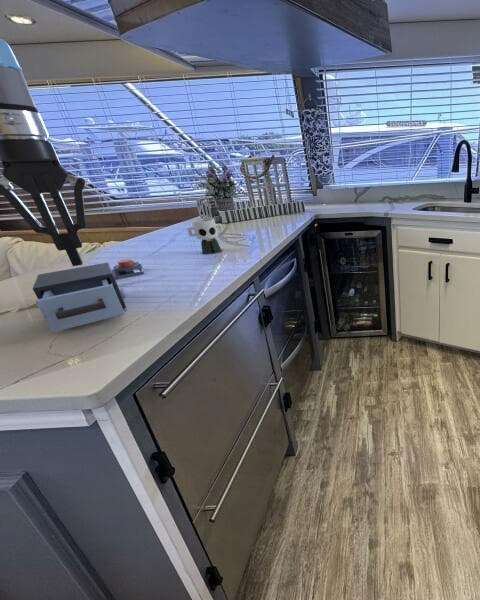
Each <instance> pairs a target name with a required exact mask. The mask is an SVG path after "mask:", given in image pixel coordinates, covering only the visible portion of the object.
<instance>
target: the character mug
mask: <svg viewBox="0 0 480 600" xmlns="http://www.w3.org/2000/svg"><path fill="white" fill-rule="evenodd" d="M191 224H192V226H189V227H187V232H188V235H189V237H190V238H191V237H195V238H196V239H197V240H201V242H200V246H201V252H202V254H203V255H213V254H217V253H220V252H222V249H221V246H220V244H219V242H218V240H217V239H216V238H218V237H219V234H220V233H223V232H224V228H223V225H222V223H221V222H220V223H216V221H215V219H214V218H201V219H195V220H192V222H191ZM217 227H219V229H218V228H217ZM192 231H194V232H192Z"/></svg>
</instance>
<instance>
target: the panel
mask: <svg viewBox="0 0 480 600" xmlns="http://www.w3.org/2000/svg"><path fill="white" fill-rule="evenodd" d="M133 262H134V264H135V265H132V266H127V267H119V264H115V265H114V266H112V269H111V270H112V273H113V275H114V278H115V280H116V281H117V280H122V279H125V278H130V277H136V276H140V275H144V274H145V272H144V270H143V266H142V263H141V262H140V261H133Z"/></svg>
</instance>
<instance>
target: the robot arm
mask: <svg viewBox="0 0 480 600" xmlns="http://www.w3.org/2000/svg"><path fill="white" fill-rule="evenodd" d="M24 75H25V74H24V72H23V69H22V67H21V66H20V64H19V62H18V59H17V58H16V56H15V54H14V51H13V50H12V48H11V47H10V45H9V43H8V42H6V41H5V40H4V39H3V38H0V163H1V165H2V171H1V172H2V176H1V177H0V195H2V196H3V197H4V198H5V199H6V200H7V202H8V203H9V204H10V205H11V206H12V207H13V208H14V210H15V211H16V213H18V214H19V215H20V216H21V218H22V219H23V220H24V221H25V222H26V223H27V225H29V227H30V228H31V229H32V230H33V232H35V233H36V234H45V235H48V236H50V237H51V241H53V244H54V246H55V248H56V249H57V250H58V251H59V252H60V251H65V252H66V254H67V257H68V259H69V261H70V263H71V265H72V267H77V266H82V265H83V264H84V262H83V260H82V257H81V254H80V253H79V251H78V249H81V248H83V242H82V240H81V238H80V235H79V233H78V231H80V230H83V229H84V228H86V225H87V222H86V213H85V204H84V193H83V190H84V188H85V185H86V182H87V181H86V179H84V178H82V177H77V176H75V175H73V174H70V173H69V172H68V170H67V169H66V168H65V167H64V166H63V165H62V164H61V161H60V160H59V156H58V155H57V152H56V150H55V147H54V145H53V143H52V142H51V141H49V140H47V139H48V138H49V136H50V135H49V132H48V130H47V128H46V126H45V123H44V121H43V119H42V116H41V114H40V112H39V110H38V109H37V108H38V107H37V106H36V104H35V101H34V99H33V96H32V94H31V91H30V88H29V86H28V83H27V80H26V78H25V76H24ZM66 181H68V182H69V185H70V186H71V187H73V196H74V206H75V214H76V215H75V216H76V222H75V223H74V222H73V219H72V217H71V214H70V212H69V210H68V207H67V206H66V204H65V201H64V199H63V195H62V194H61V192H60V191H62V189H63V187H64V186H65V183H66ZM11 183H13V184H14V185H16V186H17V187H19V188H20V189H22V190H23V191H24V192H26V193H29V194H30V196H31V199H32V200H33V201H34V204H35V206H36V208H37V210H38V212H39V215H40V217H41V220H42V222H43V223H44V225H45V226H44V225H42V224H41V222H40V221H39V220H38V219H37V218H36V216H35V215H34V214H33V213H32V212H31V211H30V209H29V208H28V207H27V206H26V205H25V203H24V202H23V201H22V200H21V199H20V198H19V197H18V195H17V194H16V193H15V192H14V191H13V190H14V186H13V185H12V184H11ZM43 193H48V194H50V196H51V198H52V200H53V203H54V205H55V207H56V210H57V211H58V214H59V217H60V218H61V221H62V223H63V225H64V227H65V229H66V232H59V229H58V227H57V223H56V222H55V220H54V218H53V215H52V213H51V211H50V209H49V207H48V205H47V202H46V200H45V198H44V195H43Z"/></svg>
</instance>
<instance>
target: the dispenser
mask: <svg viewBox="0 0 480 600" xmlns="http://www.w3.org/2000/svg"><path fill="white" fill-rule="evenodd" d="M112 270H113V269H111V266H110V262H103V263H102V262H101V263H96V264H91V265H86V266H80V267H74V268H68V269H63V270H57V271H51V272H45V273H39V274H37V277H36V279H35V282H34V284H33V287H32V291H33V292H34V294H35V297H36V298H37V299H42V298H43V294H44V291H45V290H48V289H53V288H58V287H63V286H68V285H73V284H78V283H83V282H89V281H94V280H99V279H104V278H107V280H108V282H109V285H110V284H112V285H113V287H114V290H115V292H116V294H117V297H118V299H119V302H120V304H121V306H122V309H126V308H127V306H126V303H125V300H124V297H123V295H122V292H121V290H120V287H119V285H118V282H117V280H115V278H114V275H113V273H112Z"/></svg>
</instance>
